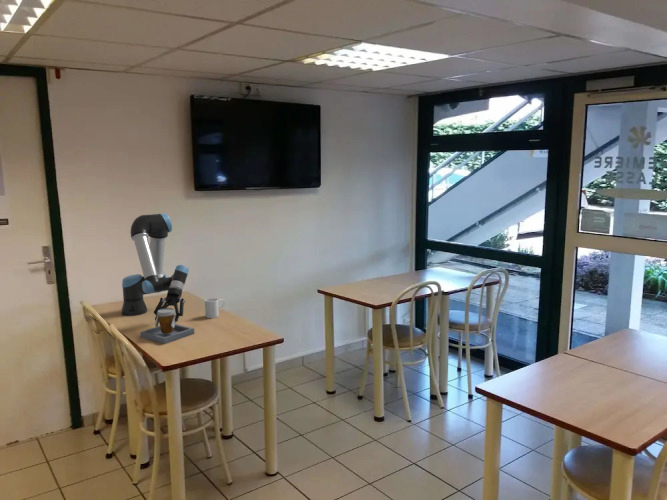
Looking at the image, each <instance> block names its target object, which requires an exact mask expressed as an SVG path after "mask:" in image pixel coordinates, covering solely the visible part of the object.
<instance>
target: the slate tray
mask: <svg viewBox="0 0 667 500" xmlns="http://www.w3.org/2000/svg"><path fill="white" fill-rule="evenodd" d="M139 334H140V335H139V337H140V338H142V339H145V340H149V341H152V342H156V343H158V344H163V345H166V344H169V343H172V342H175V341H177V340H180V339H183V338H187V337H188V336H192V335H194V334H195V327H194V328H193V327H189V326H185V325H182V324H179V323H175V327H174V330H173V332H171V333H162V332H161V328H160V325H158V327H156V326H155V327H152V328H149V329H145V330H142V331H140V333H139Z"/></svg>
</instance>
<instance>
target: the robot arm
mask: <svg viewBox="0 0 667 500" xmlns="http://www.w3.org/2000/svg"><path fill="white" fill-rule="evenodd" d="M172 230H173V223H172V220H171V217H170V216H169V215H168V214H166V213H155V214H154V213H153V214H142V215H139V216H137V217H136V218H135V219H134V220H133V222H132V224H131V226H130V238H131V240H132V241H133V242H134V245H135V248H136V251H137V257H138V260H139V263H140V267H141V270H142V274H139V273H138V274H137V273H136V274H132V275H128V276H125V277H124V278H123V279H122V281H121V283H122V285H121V288H122V295H123V302H122V306H121V311H120V312H121V315H122V316H130V317H132V316H133V317H134V316H139V315H143V314H146V313H147V312H148V307H147V305H146V303H145V300H144V295H150V294H157V293H161V292H165V291H167V293H166V297H160V298H159V302H158V303H157V305H156V307H155V309H154V310H153V314H154V315H155V316H154V320H155V322H154V324H153V325H154V326H155V327H158V326H159V325H160V323H159V318H158V315H157V312H158V310H160V309H165V308H169V306H173V307H174V308H173V309H174V311H175V314H174V317H173V321H172V324H171V326H172V328H174V327H175V324H177V322H178V321H179V317H183V316H184V305H185V303H186V300H185V299H184V298H181V297H182V294H183V291H184V287H185V284H186V282H187V281H186V280H187V277H188V275H189V267H187V266H186V265H183V264H178V265H176V266H175V269H174V272H173V274H172V275H171V276H167V274H165V272H164V271H163V270H164V256H165V255H164V253H165V245H166V241H165V240H166V239H167V238H168V236H169V233H171V232H172ZM148 238H149V239H148ZM178 303H179V306H178Z"/></svg>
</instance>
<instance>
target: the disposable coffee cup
mask: <svg viewBox="0 0 667 500" xmlns="http://www.w3.org/2000/svg"><path fill="white" fill-rule="evenodd" d="M157 315H158V318H159V326H160V328H161V332H162V333H171V332H173V330H174V328H172V326H171V324H172V321H173V317H174V315H176V312H175V308H171V307H170V308H169V307H167V308H165V309H160V310H158V312H157Z"/></svg>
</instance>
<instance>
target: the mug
mask: <svg viewBox="0 0 667 500" xmlns="http://www.w3.org/2000/svg"><path fill="white" fill-rule="evenodd" d="M220 301H222V302H223V303H222V305H221V307H220V308H219V302H220ZM225 302H226V301H225V299H223V298H219V299H218V298H215V297H211V298H207V299H205V300H204V310H205V311H204V312H205V318H207V319H215V318H218V317H219V316H220V315H219V314H220V313H219V312H221V310H222V309H223V308H224V307H225Z"/></svg>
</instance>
